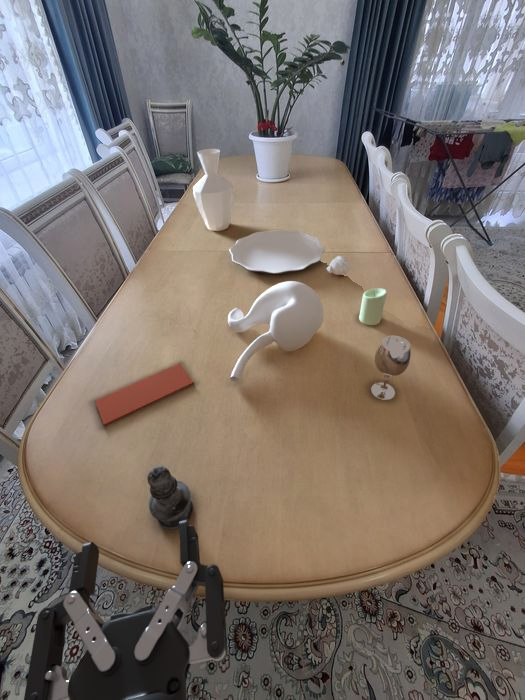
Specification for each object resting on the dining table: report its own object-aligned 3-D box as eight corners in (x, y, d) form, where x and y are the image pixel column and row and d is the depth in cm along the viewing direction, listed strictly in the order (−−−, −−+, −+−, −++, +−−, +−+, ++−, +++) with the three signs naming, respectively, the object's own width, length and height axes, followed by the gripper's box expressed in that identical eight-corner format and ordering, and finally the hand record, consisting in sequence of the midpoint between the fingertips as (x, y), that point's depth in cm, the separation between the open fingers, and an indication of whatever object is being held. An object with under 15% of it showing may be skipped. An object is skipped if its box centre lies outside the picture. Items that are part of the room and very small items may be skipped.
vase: (235, 233, 125) (228, 155, 109) (196, 234, 126) (183, 158, 109) (238, 218, 136) (231, 145, 119) (202, 219, 136) (190, 147, 120)
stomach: (244, 324, 92) (222, 400, 76) (222, 284, 83) (193, 361, 67) (330, 310, 84) (326, 392, 68) (317, 264, 75) (309, 346, 59)
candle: (355, 321, 84) (360, 291, 79) (364, 311, 87) (369, 282, 81) (375, 328, 82) (381, 298, 76) (383, 317, 85) (390, 288, 79)
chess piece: (157, 494, 54) (135, 451, 46) (195, 489, 54) (180, 445, 46) (152, 534, 49) (127, 494, 41) (194, 528, 50) (176, 488, 42)
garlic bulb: (321, 274, 101) (323, 256, 98) (338, 268, 103) (340, 251, 100) (333, 282, 98) (334, 264, 94) (350, 276, 99) (352, 259, 96)
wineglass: (397, 406, 64) (413, 358, 56) (365, 398, 66) (376, 351, 58) (399, 384, 68) (414, 337, 60) (369, 377, 70) (380, 330, 62)
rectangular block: (180, 364, 75) (179, 362, 75) (193, 383, 71) (193, 382, 71) (95, 401, 68) (94, 400, 68) (104, 425, 64) (103, 424, 64)
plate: (311, 285, 97) (312, 277, 95) (215, 272, 105) (214, 265, 103) (331, 240, 117) (331, 233, 116) (249, 232, 125) (249, 226, 124)
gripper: (238, 781, 19) (208, 497, 31) (-47, 879, 17) (38, 537, 29) (248, 773, 24) (219, 531, 36) (28, 848, 22) (75, 567, 34)
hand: (138, 534), depth 32 cm, fingers open, 8 cm apart
